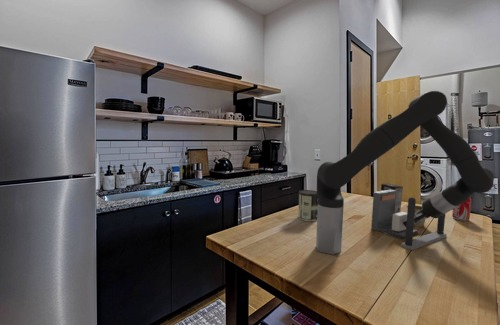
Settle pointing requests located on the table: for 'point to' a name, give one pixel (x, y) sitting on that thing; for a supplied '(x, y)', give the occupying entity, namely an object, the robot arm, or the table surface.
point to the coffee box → (398, 194)
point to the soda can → (462, 211)
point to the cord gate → (422, 240)
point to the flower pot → (420, 221)
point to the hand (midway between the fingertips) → (405, 224)
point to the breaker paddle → (399, 221)
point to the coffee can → (308, 205)
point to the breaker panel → (385, 213)
